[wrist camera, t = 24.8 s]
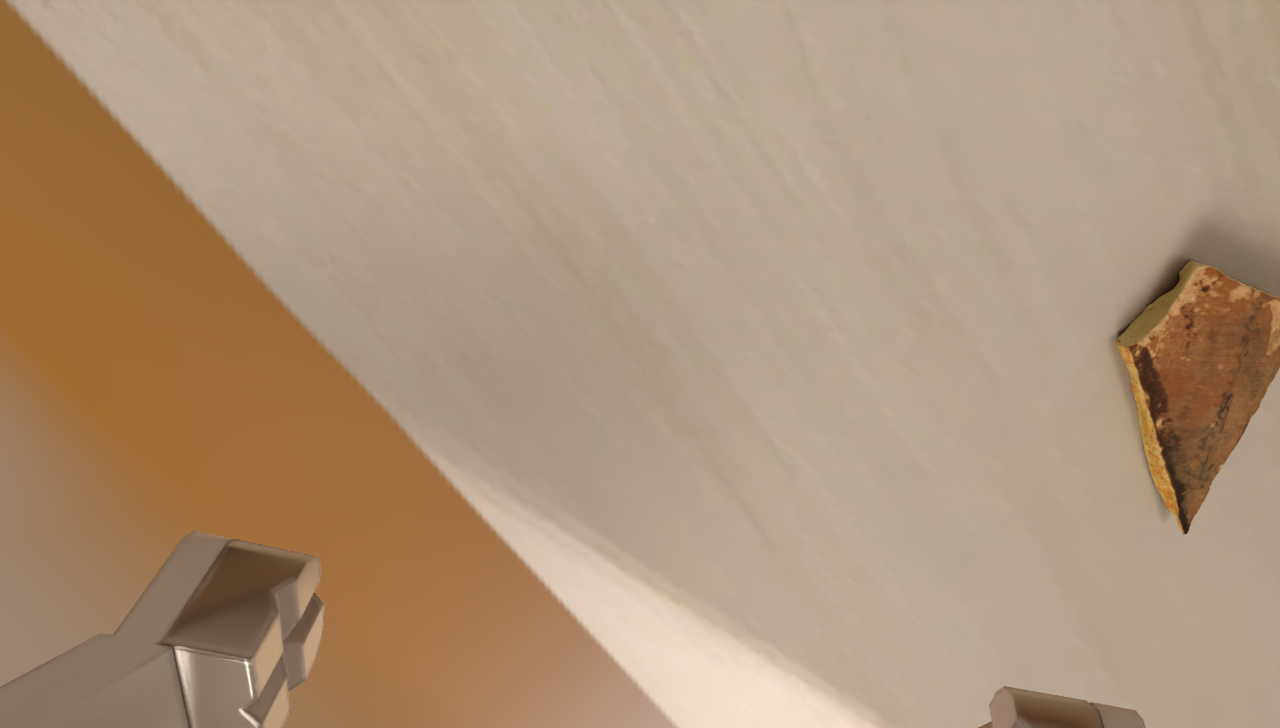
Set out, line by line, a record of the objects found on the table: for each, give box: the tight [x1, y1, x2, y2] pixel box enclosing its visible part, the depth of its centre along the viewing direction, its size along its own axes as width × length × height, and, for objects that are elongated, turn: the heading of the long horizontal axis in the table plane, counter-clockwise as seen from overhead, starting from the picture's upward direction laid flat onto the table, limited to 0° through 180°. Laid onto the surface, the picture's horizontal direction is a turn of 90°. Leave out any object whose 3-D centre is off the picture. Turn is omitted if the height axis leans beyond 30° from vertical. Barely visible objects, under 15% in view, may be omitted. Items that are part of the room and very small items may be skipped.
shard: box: [1116, 260, 1280, 534], centre depth 43 cm, size 11×8×2 cm
